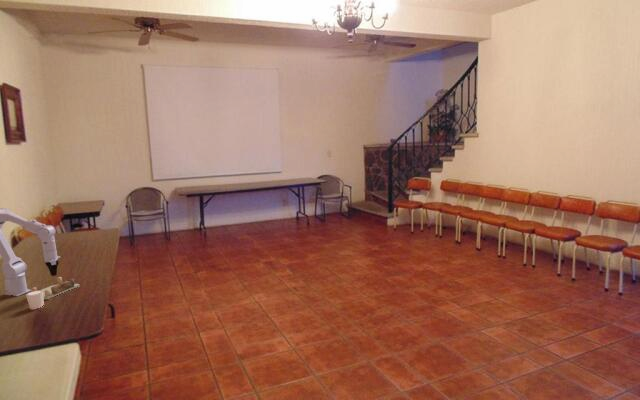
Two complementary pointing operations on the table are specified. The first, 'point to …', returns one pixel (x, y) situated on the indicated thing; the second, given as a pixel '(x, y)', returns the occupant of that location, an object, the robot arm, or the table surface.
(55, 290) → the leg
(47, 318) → the table surface
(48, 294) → the seat
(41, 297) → the shot glass
